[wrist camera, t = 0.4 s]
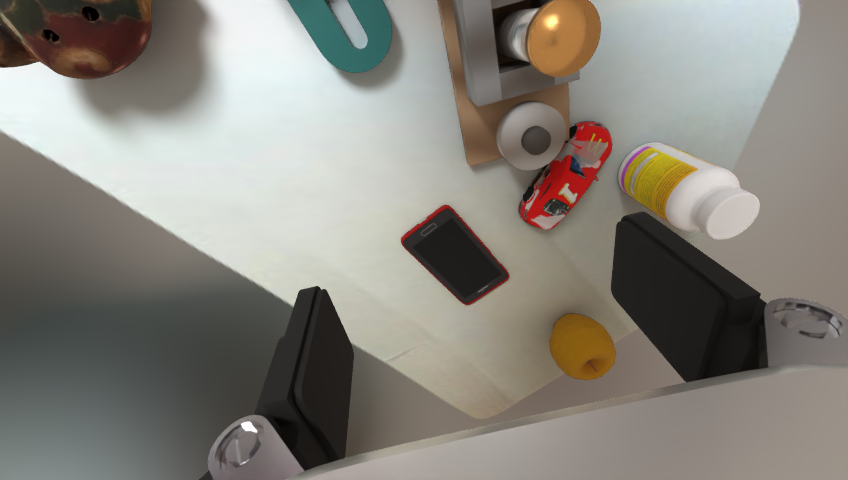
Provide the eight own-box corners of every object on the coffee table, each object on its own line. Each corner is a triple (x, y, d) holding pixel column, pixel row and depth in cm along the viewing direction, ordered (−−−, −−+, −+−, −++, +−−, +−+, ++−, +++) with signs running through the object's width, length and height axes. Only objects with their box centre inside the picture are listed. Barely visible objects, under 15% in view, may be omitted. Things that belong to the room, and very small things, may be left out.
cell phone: (446, 200, 43) (447, 204, 42) (510, 273, 49) (512, 277, 49) (397, 238, 45) (398, 242, 44) (465, 303, 51) (466, 307, 51)
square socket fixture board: (433, -20, 31) (447, -32, 25) (557, -56, 31) (603, -77, 24) (466, 161, 40) (483, 188, 34) (563, 136, 40) (598, 157, 33)
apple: (527, 332, 55) (550, 380, 48) (565, 294, 52) (596, 339, 44) (566, 349, 58) (593, 397, 51) (604, 314, 55) (639, 360, 47)
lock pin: (480, 12, 32) (528, 7, 21) (529, -2, 31) (601, -14, 21) (487, 66, 34) (533, 84, 23) (532, 53, 34) (600, 66, 23)
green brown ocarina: (-19, 2, 29) (-144, -16, 22) (125, -110, 27) (39, -170, 20) (89, 111, 33) (14, 125, 26) (219, 21, 32) (175, 9, 25)
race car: (579, 109, 39) (598, 117, 35) (613, 133, 41) (635, 143, 37) (508, 208, 44) (519, 224, 41) (541, 226, 46) (554, 242, 42)
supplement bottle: (610, 196, 44) (684, 252, 33) (622, 143, 41) (710, 186, 30) (661, 191, 45) (752, 245, 34) (678, 138, 41) (785, 179, 30)
